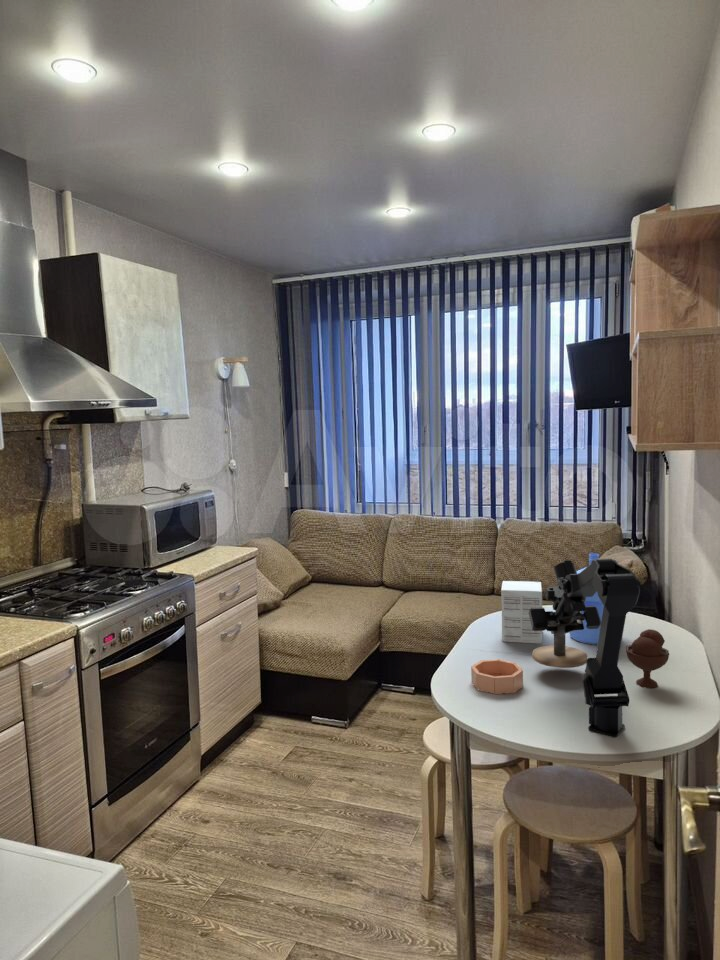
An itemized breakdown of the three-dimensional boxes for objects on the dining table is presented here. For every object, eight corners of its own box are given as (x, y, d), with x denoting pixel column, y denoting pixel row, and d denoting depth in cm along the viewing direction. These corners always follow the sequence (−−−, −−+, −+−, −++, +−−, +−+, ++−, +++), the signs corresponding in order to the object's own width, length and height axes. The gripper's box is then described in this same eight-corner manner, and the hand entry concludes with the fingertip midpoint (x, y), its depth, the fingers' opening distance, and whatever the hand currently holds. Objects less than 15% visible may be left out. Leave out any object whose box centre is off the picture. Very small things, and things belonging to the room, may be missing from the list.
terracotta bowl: (529, 681, 180) (529, 666, 180) (507, 697, 170) (507, 681, 170) (487, 671, 188) (487, 656, 188) (464, 686, 178) (464, 670, 178)
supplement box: (503, 629, 227) (502, 580, 225) (542, 631, 223) (541, 581, 222) (501, 642, 214) (500, 589, 212) (542, 644, 210) (542, 591, 209)
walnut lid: (595, 655, 186) (595, 612, 185) (575, 671, 175) (575, 626, 174) (545, 646, 196) (545, 605, 195) (523, 660, 184) (523, 617, 183)
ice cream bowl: (631, 673, 184) (631, 621, 182) (674, 682, 177) (674, 628, 175) (619, 685, 176) (619, 631, 174) (663, 695, 168) (663, 639, 167)
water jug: (598, 627, 225) (597, 548, 223) (630, 641, 210) (630, 556, 208) (559, 633, 220) (559, 552, 218) (590, 648, 205) (589, 561, 203)
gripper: (597, 577, 179) (583, 606, 191) (529, 580, 179) (520, 608, 191) (608, 613, 172) (593, 640, 184) (538, 616, 172) (527, 643, 184)
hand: (557, 632), depth 186 cm, fingers closed on walnut lid, 3 cm apart
